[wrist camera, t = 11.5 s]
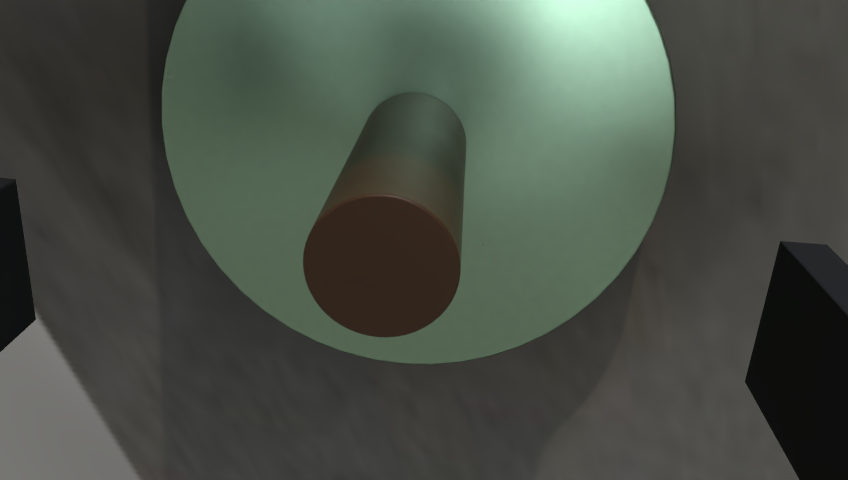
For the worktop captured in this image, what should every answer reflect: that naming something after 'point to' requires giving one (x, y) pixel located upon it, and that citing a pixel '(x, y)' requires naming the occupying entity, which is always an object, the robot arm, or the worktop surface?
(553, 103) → the tin lid
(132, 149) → the worktop surface
